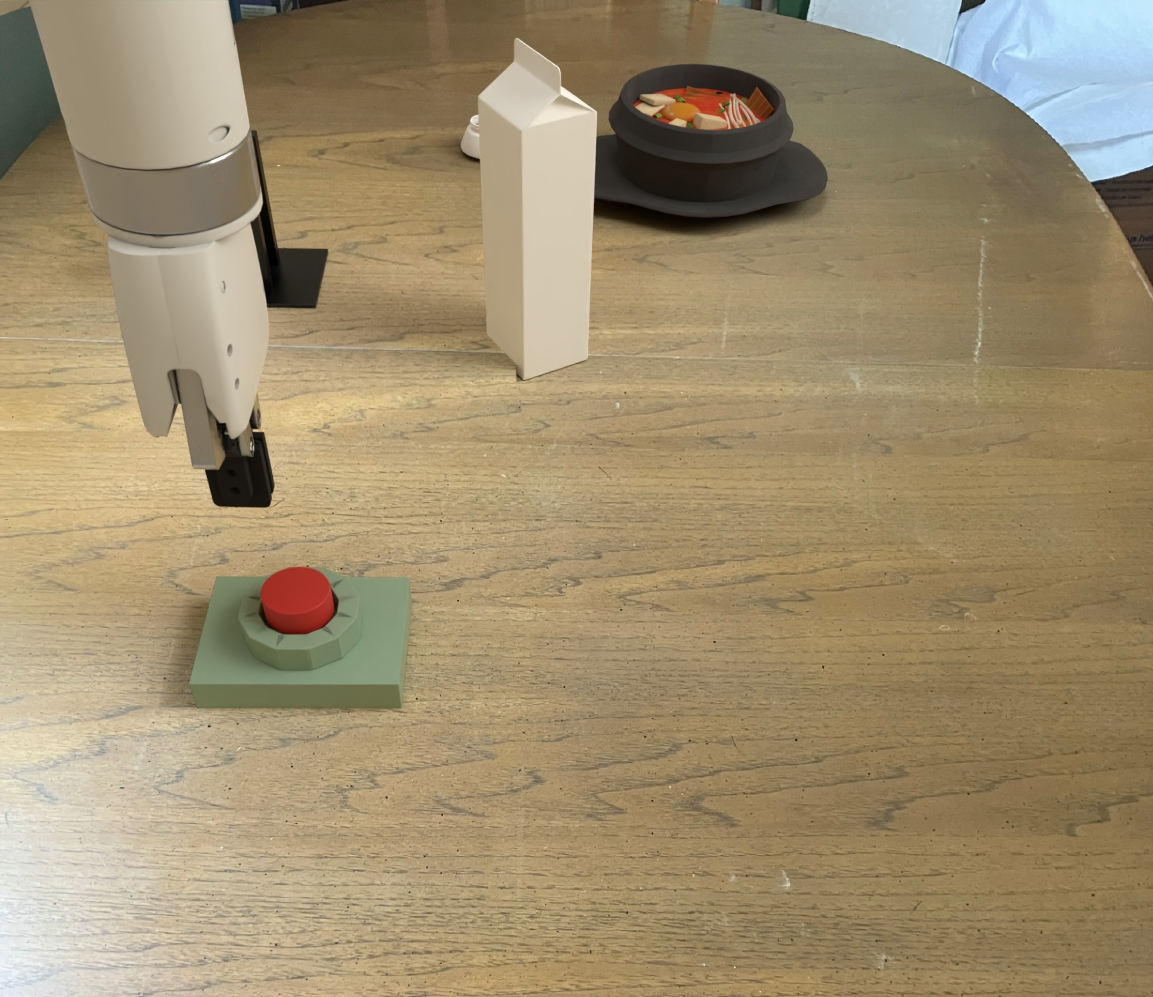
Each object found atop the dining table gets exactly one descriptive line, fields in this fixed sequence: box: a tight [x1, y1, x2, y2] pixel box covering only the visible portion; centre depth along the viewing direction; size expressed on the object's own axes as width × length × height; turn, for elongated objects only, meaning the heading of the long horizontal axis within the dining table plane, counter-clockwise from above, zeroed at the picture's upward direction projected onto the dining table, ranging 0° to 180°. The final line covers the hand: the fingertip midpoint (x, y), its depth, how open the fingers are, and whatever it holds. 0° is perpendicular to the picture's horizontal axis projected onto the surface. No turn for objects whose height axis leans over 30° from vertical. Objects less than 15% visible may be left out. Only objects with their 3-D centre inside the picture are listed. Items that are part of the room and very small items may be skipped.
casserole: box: [594, 63, 829, 219], centre depth 107 cm, size 25×19×8 cm
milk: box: [477, 37, 598, 381], centre depth 83 cm, size 6×6×22 cm
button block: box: [188, 566, 413, 709], centre depth 69 cm, size 12×9×4 cm
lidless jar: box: [460, 114, 480, 160], centre depth 113 cm, size 5×3×5 cm
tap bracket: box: [250, 129, 329, 309], centre depth 92 cm, size 12×9×12 cm
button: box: [260, 566, 334, 635], centre depth 67 cm, size 4×4×2 cm
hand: (245, 497), depth 65 cm, fingers closed
